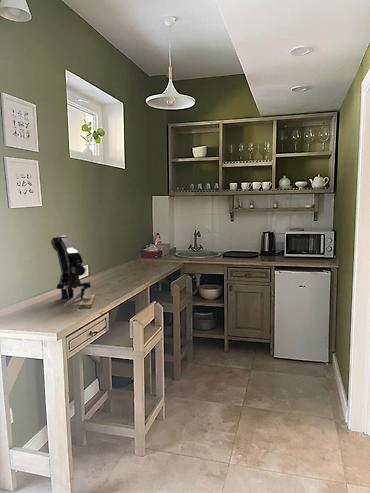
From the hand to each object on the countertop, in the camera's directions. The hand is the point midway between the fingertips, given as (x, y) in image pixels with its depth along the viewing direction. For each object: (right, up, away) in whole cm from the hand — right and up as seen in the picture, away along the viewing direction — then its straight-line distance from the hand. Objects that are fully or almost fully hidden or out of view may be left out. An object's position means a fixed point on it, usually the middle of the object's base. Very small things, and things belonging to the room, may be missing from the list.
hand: (74, 299), depth 224 cm
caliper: (0, -2, -1) cm, 2 cm away
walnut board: (+8, -1, -4) cm, 9 cm away
